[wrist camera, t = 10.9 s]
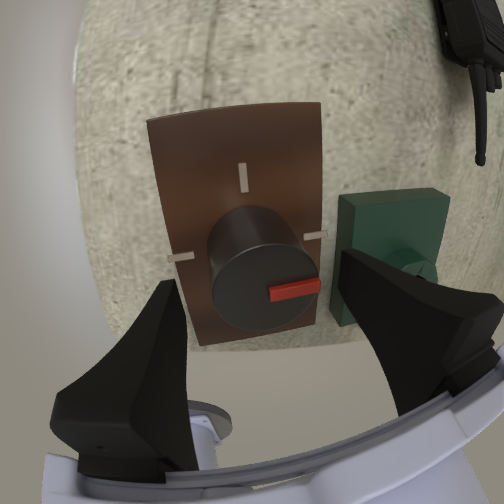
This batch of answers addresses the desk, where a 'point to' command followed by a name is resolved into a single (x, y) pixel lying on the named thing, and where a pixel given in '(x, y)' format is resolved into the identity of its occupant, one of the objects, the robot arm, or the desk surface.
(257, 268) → the knob
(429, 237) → the button block
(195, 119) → the lock panel
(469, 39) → the walkie-talkie
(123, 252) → the desk surface
